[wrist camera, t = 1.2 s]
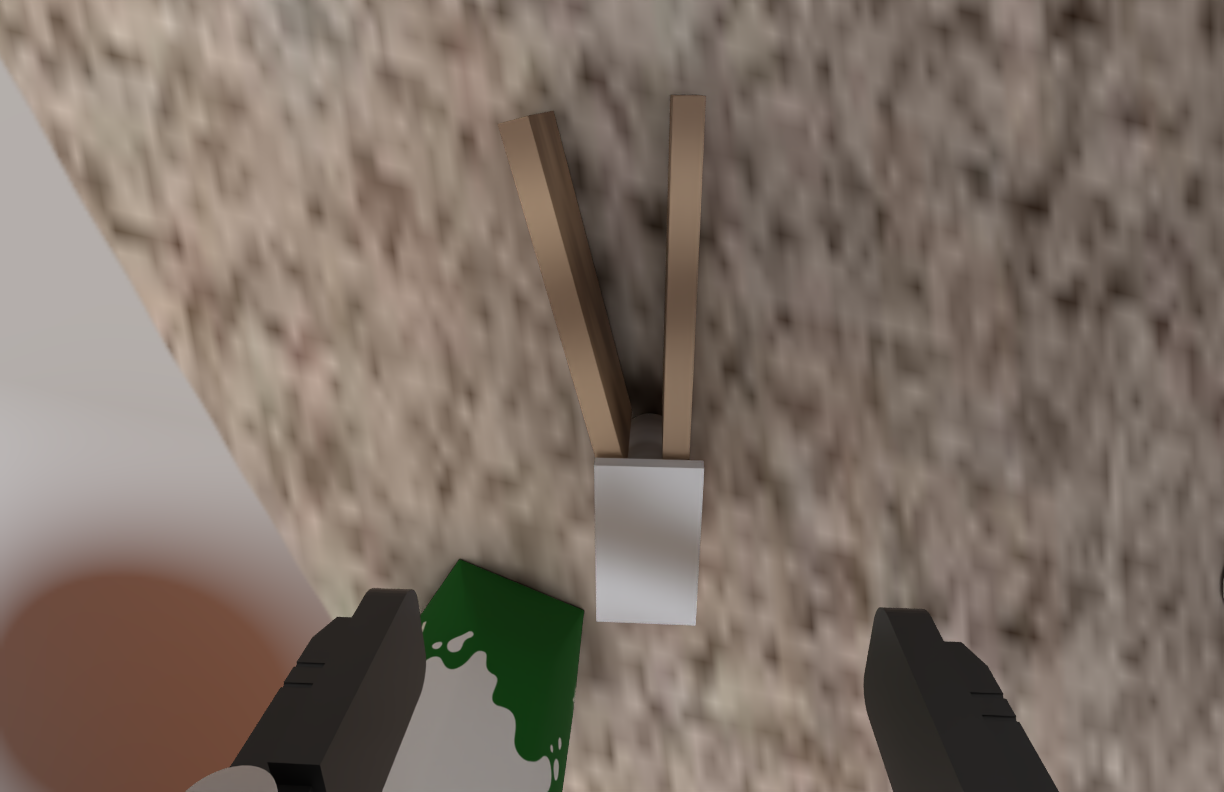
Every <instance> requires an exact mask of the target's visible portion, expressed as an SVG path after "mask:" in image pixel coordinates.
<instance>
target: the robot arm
mask: <svg viewBox="0 0 1224 792" xmlns="http://www.w3.org/2000/svg"><path fill="white" fill-rule="evenodd" d="M1223 598H1224V579H1223ZM425 673H426V653H425V646H424V639H423V632H422V625H421V618H420V612H419V605H418V599H417V595H416V593H415V591H414V590H410V589H381V588H372V589H370V590H368V592H367V593H366V594H365V596H364V598H363V599H362V601H361V603H360V604H359V606H358V608H357V610H356V611H355V613H354V615H353V616H352V618H351V617H337V618H335V619H334V620H333V621H332V622H331V623H329V624H328V625H327V626H326V627H325V628H323V629H322V630H321V631H320V632H318V633H317V634H316V635H315V636H314V637H313V638H312V639H311V640H310V642H309V644H308V645H307V647H306V648H305V650H304V651H303V653H302V655H301V656H300V658H299V659H298V661H297V665H296V667H293V669H292V670H291V672H290V673H289V675H288V677H287V678H286V680H285V681H284V686H283V687H281V688H280V689H279V691H278V692H277V694H276V695H275V697H274V699H273V700H272V702H271V703H270V705H269V707H268V708H267V710H266V711H265V713H264V714H263V716H262V718H261V719H260V721H259V722H258V724H257V726H256V727H255V729H254V730H253V732H252V733H251V735H250V736H249V738H248V740H247V741H246V743H245V744H244V746H243V747H242V749H241V751H240V752H239V754H238V755H237V757H236V758H235V760H234V762H233V763H232V764H231V766H230V767H229V768H226V769H223V770H220V771H218V772H215V773H213V774H211V775H209V776H207V777H205V778H203V779H202V780H200V781H199V782H197V783H195V784H194V785H193V786H192V787H190V788H189V789H188V790H187V791H186V792H382V791H383V788H384V785H385V783H386V780H387V778H388V775H389V773H390V770H391V768H392V765H393V763H394V760H395V758H396V755H397V753H398V750H399V748H400V745H401V743H402V740H403V738H404V735H405V733H406V730H407V727H408V725H409V722H410V720H411V717H412V715H413V712H414V710H415V707H416V705H417V702H418V700H419V697H420V695H421V692H422V688H423V684H424V679H425ZM864 698H865V705H866V710H867V714H868V717H869V720H870V723H871V726H872V729H873V732H874V735H875V738H876V741H877V744H878V747H879V750H880V753H881V756H882V759H883V762H884V765H885V768H886V771H887V774H888V777H889V780H890V783H891V786H892V789H893V792H1059V791H1058V789H1057V788H1056V786H1055V784H1054V782H1053V780H1052V779H1051V777H1050V775H1049V773H1048V772H1047V770H1046V768H1045V766H1044V765H1043V763H1042V761H1041V759H1040V758H1039V756H1038V754H1037V752H1036V751H1035V749H1034V747H1033V745H1032V744H1031V742H1030V740H1029V738H1028V736H1027V735H1026V733H1025V731H1024V729H1023V728H1022V726H1021V724H1020V722H1017V721H1016V715H1015V714H1014V712H1013V710H1012V708H1011V707H1010V705H1009V703H1008V701H1007V700H1006V699H1004V698H1003V692H1002V691H1001V689H1000V687H999V685H998V684H997V682H996V680H995V678H994V677H993V675H992V673H991V671H990V670H989V668H988V666H987V665H986V664H985V663H984V662H982V661H981V660H980V659H979V658H978V657H977V656H976V655H975V654H974V653H973V652H971V651H970V650H969V649H968V648H967V647H966V646H965V645H964V644H963V643H962V642H944V641H943V639H942V637H941V635H940V633H939V631H938V629H937V627H936V625H935V623H934V621H933V619H932V617H931V616H930V614H929V613H928V611H926V610H925V609H909V608H878V609H877V611H876V614H875V617H874V623H873V628H872V634H871V640H870V645H869V651H868V657H867V662H866V668H865V674H864Z"/></svg>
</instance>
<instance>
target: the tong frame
mask: <svg viewBox="0 0 1224 792" xmlns="http://www.w3.org/2000/svg"><path fill="white" fill-rule="evenodd" d="M705 106H706V96H702V95H670V128H669V165H668V201H667V238H666V275H665V311H664V348H663V385H662V459H627V458H595V463H594V491H595V557H596V621H599V622H623V623H648V624H672V625H696V609H697V591H698V573H699V555H700V537H701V519H702V501H703V483H704V462H703V461H700V460H689V456H690V434H691V412H692V390H693V368H694V346H695V324H696V302H697V281H698V259H699V237H700V215H701V193H702V171H703V149H704V127H705Z"/></svg>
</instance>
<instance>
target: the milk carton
mask: <svg viewBox="0 0 1224 792" xmlns="http://www.w3.org/2000/svg"><path fill="white" fill-rule="evenodd" d="M583 616H584V610H581V609H579V608H577V607H574V606H572V605H569V604H567V603H564V602H562V601H560V600H557V599H555V598H552V597H550V596H547V595H545V594H543V593H540V592H538V591H535V590H533V589H531V588H528V587H526V586H523V585H521V584H518V583H516V582H514V581H511V580H509V579H506V578H504V577H501V576H499V575H497V574H494V573H492V572H489V571H487V570H484V569H482V568H480V567H477V566H475V565H472V564H470V563H467V562H465V561H463V560H460V559H459V560H458V562H457V563H456V565H455V566H454V568H453V569H452V571H451V572H450V574H449V575H448V576H447V578H446V579H445V581H444V582H443V584H442V585H441V586H440V588H439V589H438V591H437V592H436V594H435V595H434V597H433V598H432V599H431V601H430V602H429V604H428V605H427V607H426V608H425V609H424V611H423V612H422V614H421V615H420V618H421V625H422V632H423V639H424V646H425V653H426V673H425V679H424V684H423V688H422V692H421V695H420V697H419V700H418V702H417V705H416V707H415V710H414V712H413V715H412V717H411V720H410V722H409V725H408V727H407V730H406V733H405V735H404V738H403V740H402V743H401V745H400V748H399V750H398V753H397V755H396V758H395V760H394V763H393V765H392V768H391V770H390V773H389V775H388V778H387V780H386V783H385V785H384V788H383V791H382V792H562V790H563V782H564V775H565V768H566V761H567V754H568V746H569V739H570V732H571V724H572V717H573V709H574V701H575V692H576V682H577V673H578V663H579V653H580V644H581V634H582V625H583Z"/></svg>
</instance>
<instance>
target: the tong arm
mask: <svg viewBox="0 0 1224 792" xmlns="http://www.w3.org/2000/svg"><path fill="white" fill-rule="evenodd" d="M498 127H499V131H500V134H501V137H502V141H503V144H504V148H505V151H506V154H507V158H508V161H509V165H510V168H511V171H512V175H513V178H514V182H515V185H516V189H517V192H518V195H519V199H520V202H521V206H522V209H523V212H524V216H525V219H526V223H527V226H528V229H529V233H530V236H531V240H532V243H533V246H534V250H535V253H536V257H537V260H538V264H539V267H540V270H541V274H542V277H543V281H544V284H545V287H546V291H547V294H548V298H549V301H550V304H551V308H552V311H553V315H554V318H555V321H556V325H557V328H558V332H559V335H560V338H561V342H562V345H563V349H564V352H565V356H566V359H567V362H568V366H569V369H570V373H571V376H572V379H573V383H574V386H575V390H576V393H577V396H578V400H579V403H580V407H581V410H582V413H583V417H584V420H585V424H586V427H587V431H588V434H589V437H590V441H591V444H592V448H593V451H594V454H595V458H627V459H662V416H661V415H658V414H652V413H647V414H642V415H639V416H637V417H635V418H634V419H633V420H631V417H632V408H631V404H630V400H629V396H628V393H627V389H626V385H625V381H624V377H623V374H622V370H621V366H620V362H619V359H618V355H617V351H616V347H615V343H614V340H613V336H612V332H611V328H610V324H609V321H608V317H607V313H606V309H605V305H604V302H603V298H602V294H601V290H600V286H599V283H598V279H597V275H596V271H595V267H594V264H593V260H592V256H591V252H590V248H589V245H588V241H587V237H586V233H585V229H584V226H583V222H582V218H581V214H580V210H579V207H578V203H577V199H576V195H575V191H574V188H573V184H572V180H571V176H570V172H569V169H568V165H567V161H566V157H565V154H564V150H563V146H562V142H561V138H560V135H559V131H558V127H557V123H556V119H555V116H554V112H553V111H550V112H545V113H540V114H534V115H529V116H525V117H521V118H518V119H514V120H511V121H507V122H503V123H500V124H498Z"/></svg>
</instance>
